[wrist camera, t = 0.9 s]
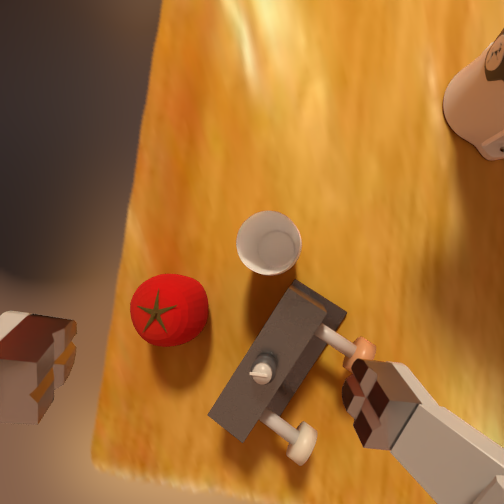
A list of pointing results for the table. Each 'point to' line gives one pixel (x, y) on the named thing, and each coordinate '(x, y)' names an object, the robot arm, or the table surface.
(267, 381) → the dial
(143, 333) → the tomato
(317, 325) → the mount
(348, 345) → the knob
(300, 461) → the knob
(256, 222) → the cup
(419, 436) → the robot arm
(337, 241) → the table surface
